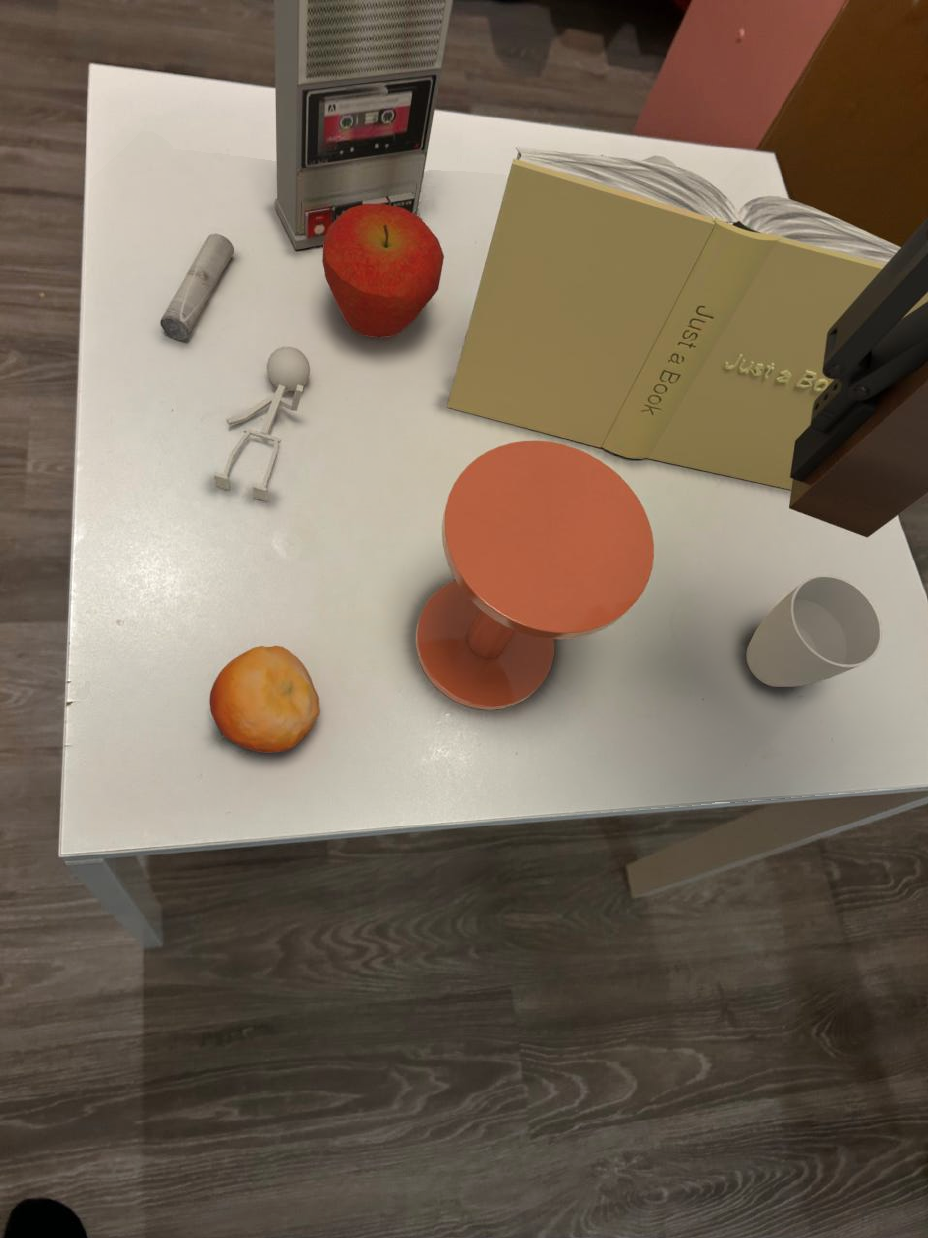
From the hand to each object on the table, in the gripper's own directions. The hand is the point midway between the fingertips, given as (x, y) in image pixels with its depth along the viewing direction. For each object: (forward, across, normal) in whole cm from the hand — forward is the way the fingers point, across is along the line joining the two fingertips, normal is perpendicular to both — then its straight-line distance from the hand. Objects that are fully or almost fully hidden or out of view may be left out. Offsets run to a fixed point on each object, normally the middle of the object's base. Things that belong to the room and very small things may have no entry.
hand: (844, 478), depth 47 cm
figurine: (+29, +39, -9) cm, 50 cm away
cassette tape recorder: (+30, +41, -37) cm, 62 cm away
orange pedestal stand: (+29, +14, +4) cm, 33 cm away
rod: (+29, +50, -20) cm, 62 cm away
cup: (+29, -12, -4) cm, 32 cm away
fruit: (+29, +29, +16) cm, 44 cm away
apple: (+30, +34, -25) cm, 51 cm away
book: (+30, +7, -24) cm, 39 cm away
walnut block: (+1, 0, 0) cm, 1 cm away
